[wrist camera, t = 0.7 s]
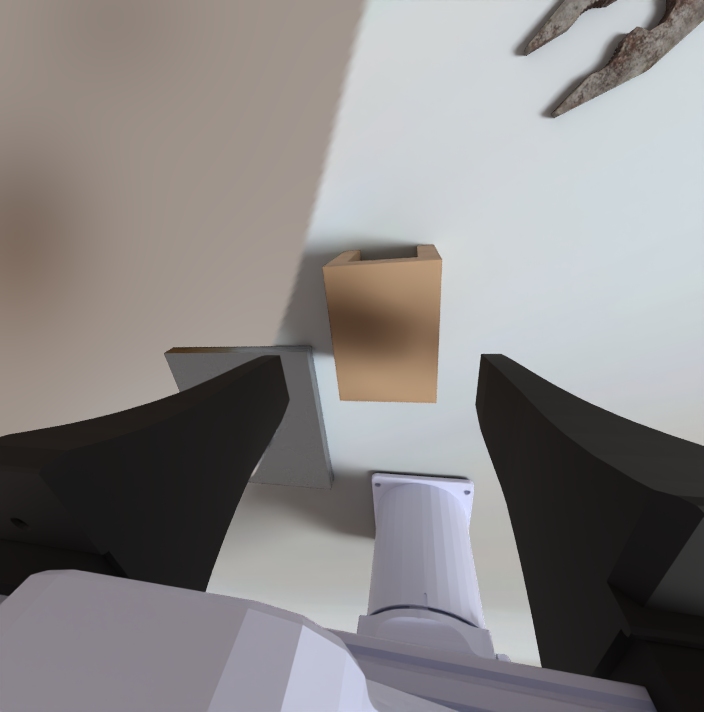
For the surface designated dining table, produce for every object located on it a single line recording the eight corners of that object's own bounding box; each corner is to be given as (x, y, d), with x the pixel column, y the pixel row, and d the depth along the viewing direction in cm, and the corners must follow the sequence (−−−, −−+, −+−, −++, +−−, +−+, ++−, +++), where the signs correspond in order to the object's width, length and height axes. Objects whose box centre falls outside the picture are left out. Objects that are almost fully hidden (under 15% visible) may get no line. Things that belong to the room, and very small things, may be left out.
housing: (430, 358, 19) (436, 402, 15) (355, 358, 20) (340, 400, 16) (433, 244, 16) (441, 259, 12) (344, 251, 17) (322, 267, 13)
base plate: (333, 479, 26) (323, 516, 23) (222, 470, 28) (199, 503, 25) (310, 345, 20) (293, 371, 17) (173, 347, 23) (136, 369, 20)
